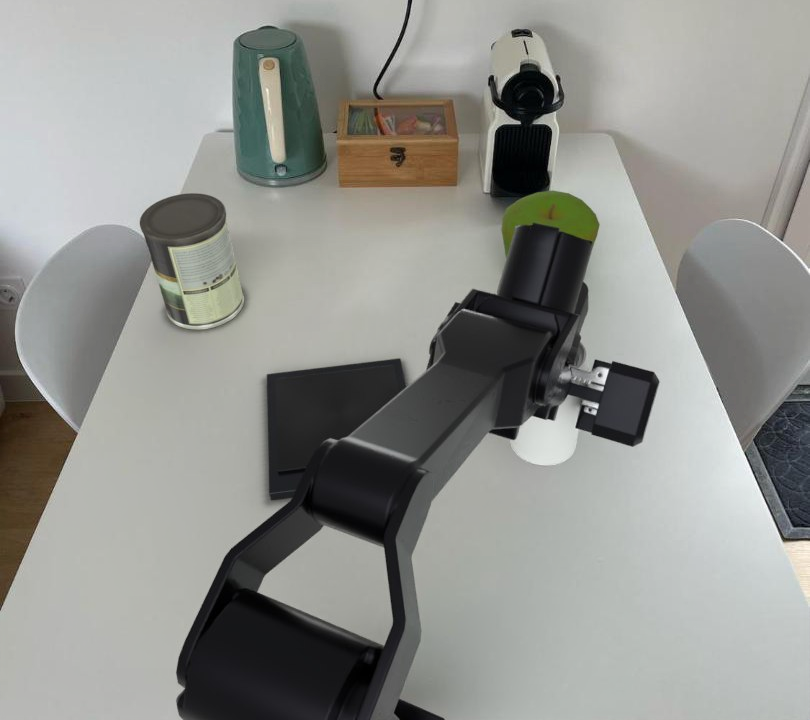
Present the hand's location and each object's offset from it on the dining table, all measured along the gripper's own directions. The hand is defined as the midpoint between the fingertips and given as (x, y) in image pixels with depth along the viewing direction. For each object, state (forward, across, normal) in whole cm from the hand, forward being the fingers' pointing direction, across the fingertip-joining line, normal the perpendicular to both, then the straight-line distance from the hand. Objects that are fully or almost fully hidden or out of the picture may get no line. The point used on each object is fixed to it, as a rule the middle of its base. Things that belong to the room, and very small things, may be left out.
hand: (552, 385), depth 76 cm
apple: (+33, +10, -14) cm, 38 cm away
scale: (+8, +23, +11) cm, 26 cm away
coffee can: (+17, +50, +2) cm, 53 cm away
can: (+4, 0, +6) cm, 7 cm away
